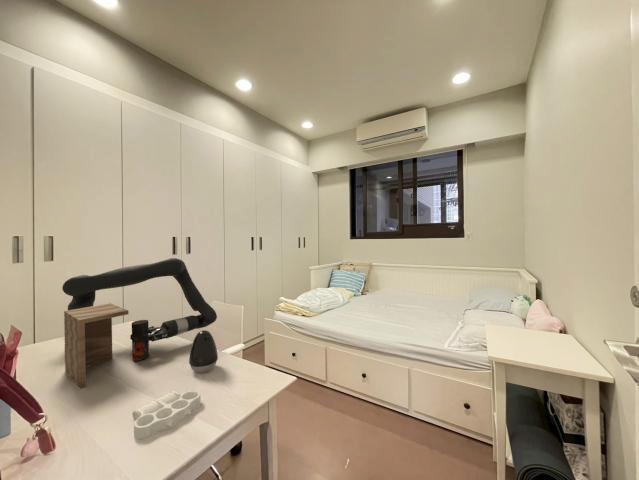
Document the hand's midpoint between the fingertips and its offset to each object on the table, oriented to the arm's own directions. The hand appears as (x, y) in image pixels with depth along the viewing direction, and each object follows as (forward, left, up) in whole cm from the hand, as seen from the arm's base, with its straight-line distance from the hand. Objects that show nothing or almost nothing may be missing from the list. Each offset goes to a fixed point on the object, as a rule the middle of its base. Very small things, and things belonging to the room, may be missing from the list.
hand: (134, 339), depth 111 cm
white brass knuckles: (+47, -9, -10) cm, 49 cm away
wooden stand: (-2, -12, -9) cm, 15 cm away
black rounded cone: (+31, +12, -9) cm, 35 cm away
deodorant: (0, +2, -9) cm, 9 cm away
